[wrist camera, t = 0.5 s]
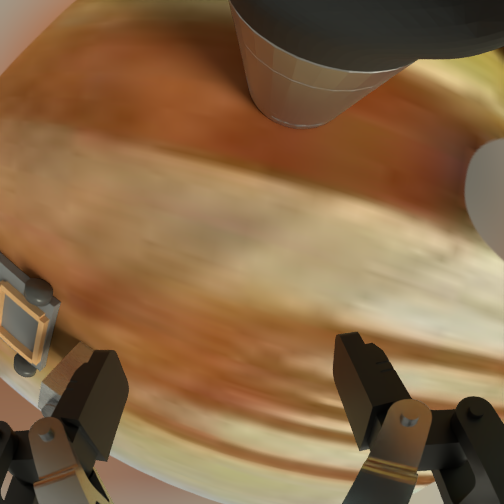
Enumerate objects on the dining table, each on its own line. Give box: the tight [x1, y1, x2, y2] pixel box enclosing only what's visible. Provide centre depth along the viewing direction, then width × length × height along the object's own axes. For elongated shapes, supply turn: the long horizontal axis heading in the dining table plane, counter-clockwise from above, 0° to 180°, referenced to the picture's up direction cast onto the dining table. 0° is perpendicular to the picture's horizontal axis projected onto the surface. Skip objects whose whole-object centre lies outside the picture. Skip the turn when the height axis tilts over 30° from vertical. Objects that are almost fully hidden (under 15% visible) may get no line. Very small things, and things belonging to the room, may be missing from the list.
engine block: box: [38, 341, 94, 417], centre depth 29 cm, size 5×5×10 cm
